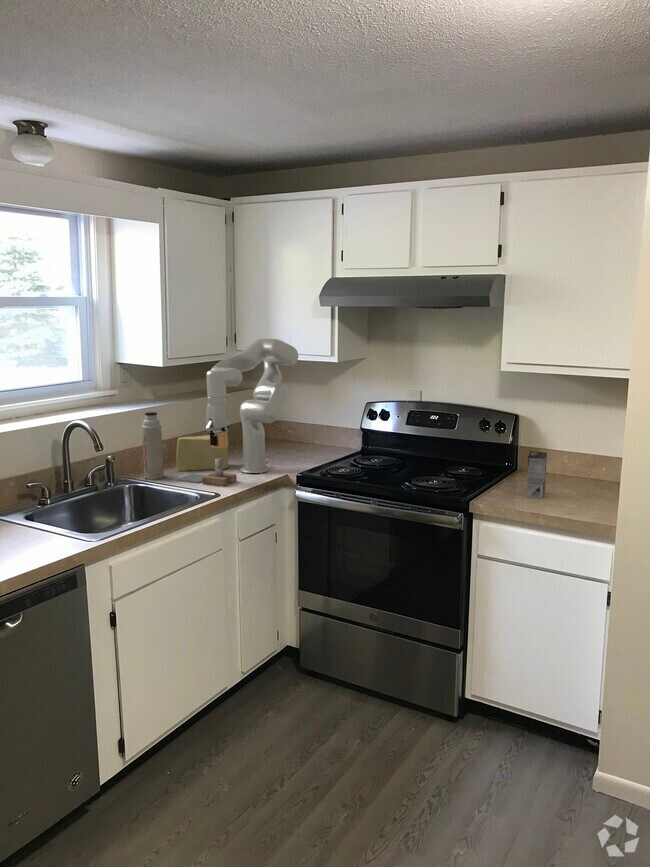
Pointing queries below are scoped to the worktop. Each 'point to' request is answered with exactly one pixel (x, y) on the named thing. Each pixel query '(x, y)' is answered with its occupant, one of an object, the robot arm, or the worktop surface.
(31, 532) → the worktop surface
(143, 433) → the thermos bottle
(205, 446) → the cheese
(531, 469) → the coffee box
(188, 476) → the mat
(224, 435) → the cap
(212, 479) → the post stand
